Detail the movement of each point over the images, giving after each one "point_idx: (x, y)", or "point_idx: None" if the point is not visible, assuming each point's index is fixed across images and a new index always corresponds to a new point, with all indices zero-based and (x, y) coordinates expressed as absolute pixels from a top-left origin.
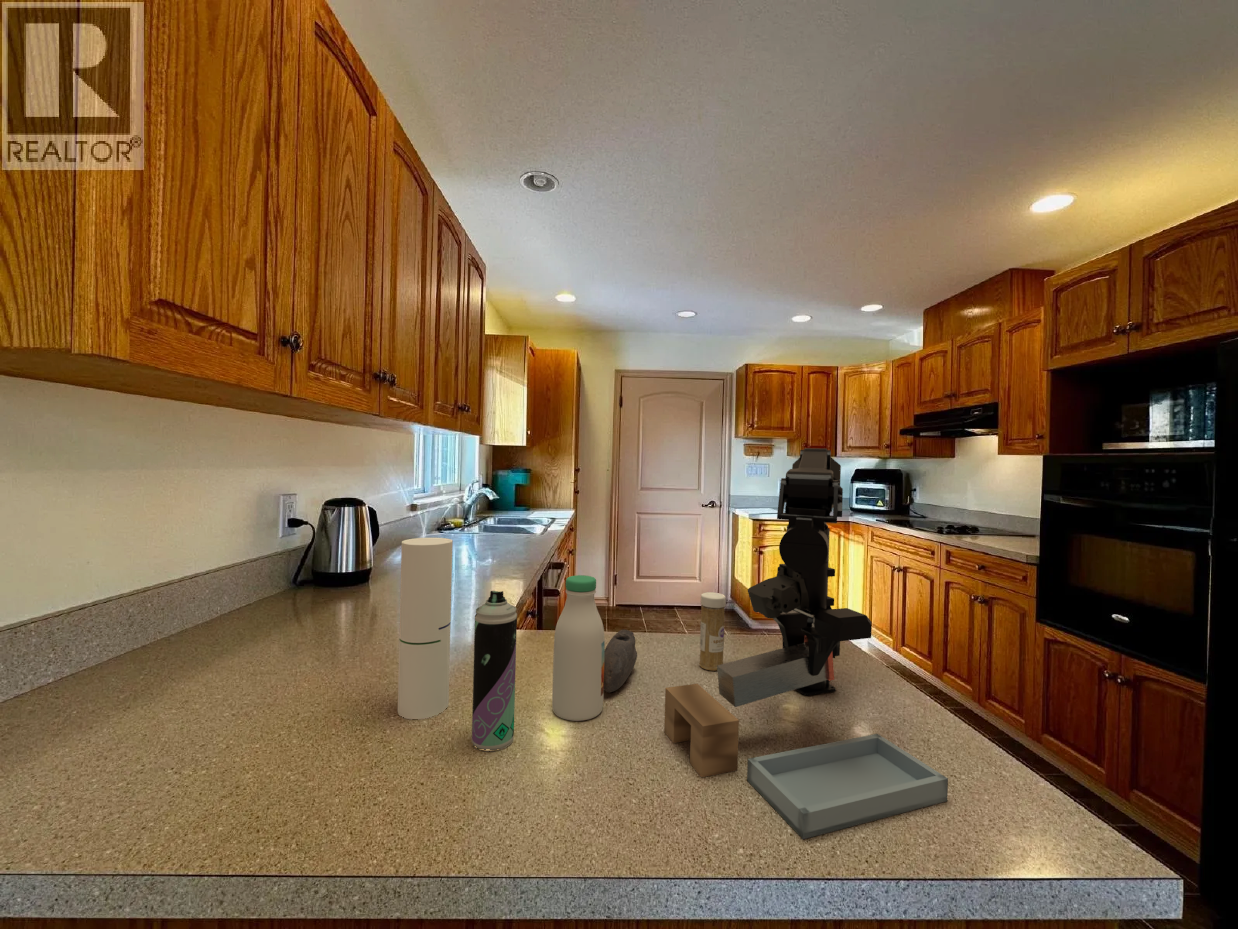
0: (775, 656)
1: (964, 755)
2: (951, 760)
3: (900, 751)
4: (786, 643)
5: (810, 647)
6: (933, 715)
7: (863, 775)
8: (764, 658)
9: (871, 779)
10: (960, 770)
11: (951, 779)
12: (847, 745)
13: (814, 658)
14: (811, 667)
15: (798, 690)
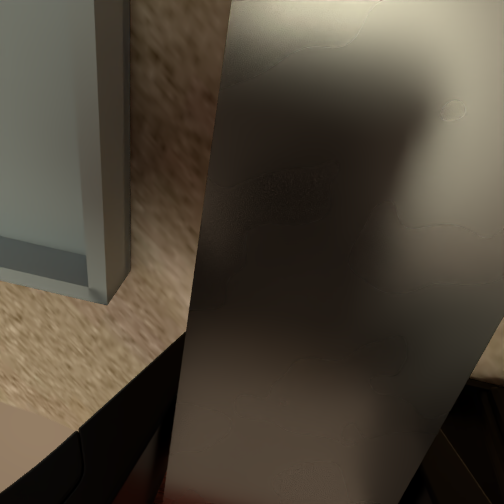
0: (384, 257)
1: (74, 393)
2: (65, 362)
3: (14, 273)
4: (455, 497)
5: (77, 494)
6: None
7: (22, 129)
8: (457, 129)
9: (3, 133)
10: (32, 344)
11: (7, 304)
12: (82, 180)
13: (99, 413)
14: (169, 358)
15: (481, 384)
